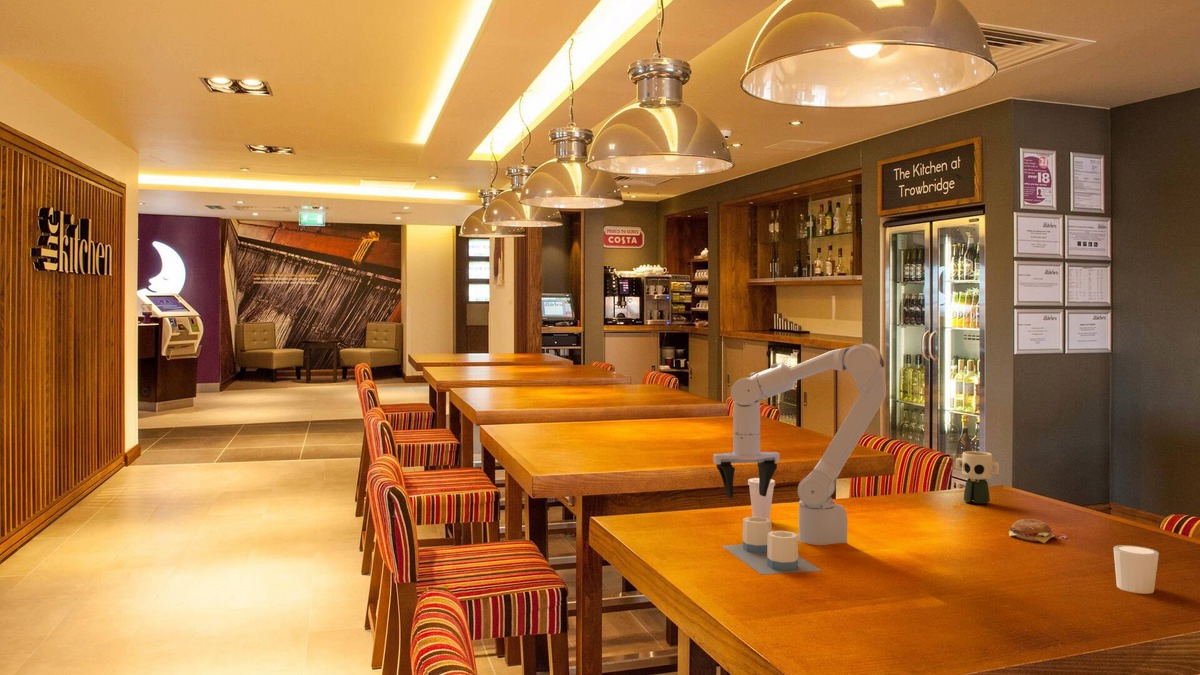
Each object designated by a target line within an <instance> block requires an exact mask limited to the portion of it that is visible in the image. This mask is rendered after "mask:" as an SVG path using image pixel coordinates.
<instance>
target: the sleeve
mask: <svg viewBox="0 0 1200 675" xmlns="http://www.w3.org/2000/svg"><path fill="white" fill-rule="evenodd" d="M772 525H773V524H772V519H769V518H765V517H758V516H755V517H753V516H746V517H744V518H743V519H742V545H743V549H744V550H746V551H747V552H753V553H767V534H768V533H770V532H771V531H773V530H772Z"/></svg>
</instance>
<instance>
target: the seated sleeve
mask: <svg viewBox="0 0 1200 675" xmlns="http://www.w3.org/2000/svg"><path fill="white" fill-rule="evenodd" d="M798 556H799V534H797V533H796V532H793V531H785V530H772V531H771V532H770V533H768V534H767V566H769V567H770V568H772V569H776V570H782V571H785V570H795V569H796V568H797V567H798Z"/></svg>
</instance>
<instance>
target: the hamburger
mask: <svg viewBox="0 0 1200 675" xmlns="http://www.w3.org/2000/svg"><path fill="white" fill-rule="evenodd" d="M1008 535H1009V537H1011V536H1014V537H1015V538H1016V539H1019V540H1023V541H1026V542H1027V541H1028V542H1036V543H1037V542H1038V543H1039V542H1040V543H1043V544H1045V543H1046V542H1048V541H1050V539H1052V538H1054V539H1058V538H1059V539H1064V540H1065V541H1066V540H1067V539H1068V538H1070V536H1069V535H1066V534H1063V533H1059V532H1053V529H1052V527H1050V526H1049V524H1047V523H1046V522H1044V521H1042V520H1039V519H1035V518H1032V519H1017V520H1016V521H1015V522H1013V524H1012V525H1011V527H1010V529H1009V531H1008ZM1059 535H1060V536H1059Z"/></svg>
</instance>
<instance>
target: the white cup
mask: <svg viewBox="0 0 1200 675" xmlns="http://www.w3.org/2000/svg"><path fill="white" fill-rule="evenodd" d="M1159 554H1160V553H1159V551H1157V550H1155V549H1153V548H1149V547H1144V546H1139V545H1132V544H1131V545H1129V544H1128V545H1127V544H1124V545H1122V544H1121V545H1119V544H1118V545H1115V546H1114V547H1113V558H1114V567H1115V568H1114V570H1115V571H1114V572H1115V580H1116V581H1115V582H1116V587H1117V588H1118V589H1119V590H1122V591H1125V592H1129V593H1134V594H1145V595H1146V594H1153V593H1154V592H1155V588H1156V587H1155V586H1156V585H1155V584H1156V578H1157V571H1158V570H1157V569H1158V564H1159V563H1158V562H1159Z"/></svg>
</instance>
